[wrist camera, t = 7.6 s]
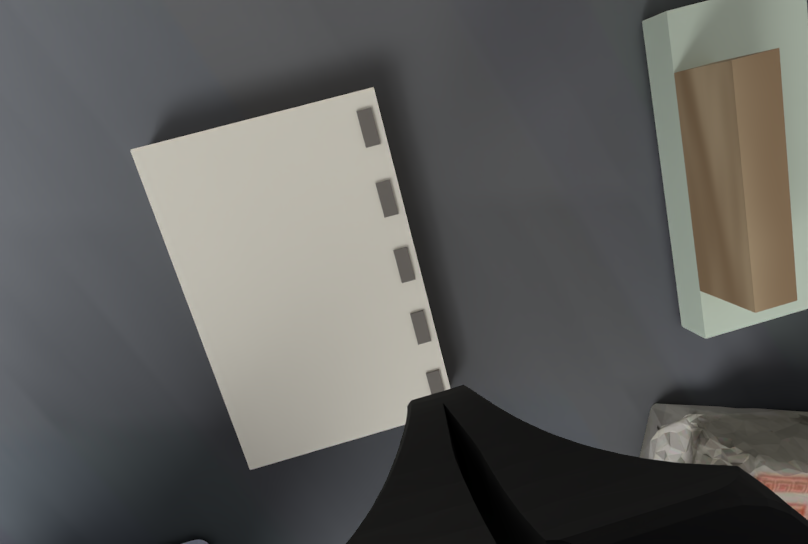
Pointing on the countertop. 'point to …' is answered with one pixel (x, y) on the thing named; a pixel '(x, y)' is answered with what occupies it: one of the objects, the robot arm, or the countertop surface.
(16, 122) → the countertop surface
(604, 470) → the robot arm
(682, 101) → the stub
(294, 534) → the countertop surface
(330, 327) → the block
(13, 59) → the countertop surface
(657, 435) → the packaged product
